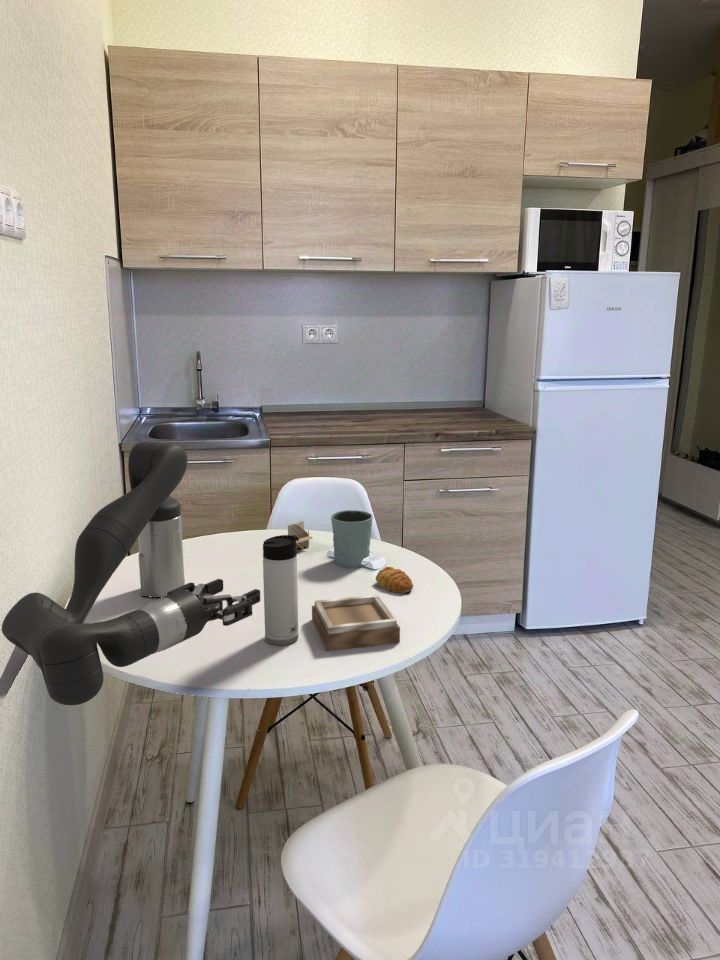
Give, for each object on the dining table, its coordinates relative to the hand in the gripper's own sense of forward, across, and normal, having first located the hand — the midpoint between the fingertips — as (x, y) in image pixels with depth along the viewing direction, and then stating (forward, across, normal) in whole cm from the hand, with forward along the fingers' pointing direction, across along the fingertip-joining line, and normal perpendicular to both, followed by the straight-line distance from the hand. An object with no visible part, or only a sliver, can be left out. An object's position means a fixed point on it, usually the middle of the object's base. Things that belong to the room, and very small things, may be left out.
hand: (240, 589), depth 122 cm
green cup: (+54, -13, -14) cm, 57 cm away
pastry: (+47, +3, -14) cm, 49 cm away
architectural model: (+54, -30, -14) cm, 64 cm away
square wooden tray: (+22, +9, -14) cm, 27 cm away
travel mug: (+12, 0, -14) cm, 18 cm away
